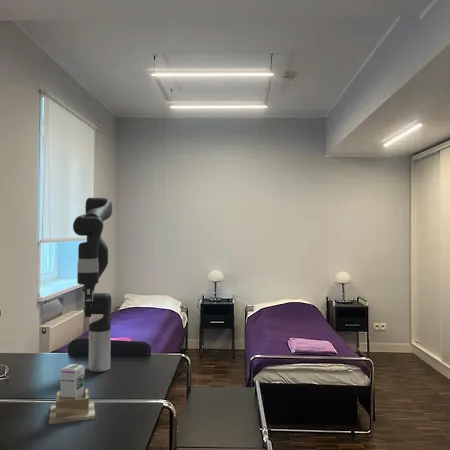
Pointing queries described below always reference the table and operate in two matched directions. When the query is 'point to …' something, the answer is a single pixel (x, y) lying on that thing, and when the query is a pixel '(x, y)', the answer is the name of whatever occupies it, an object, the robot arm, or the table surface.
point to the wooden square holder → (72, 409)
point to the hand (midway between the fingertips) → (87, 314)
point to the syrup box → (72, 382)
